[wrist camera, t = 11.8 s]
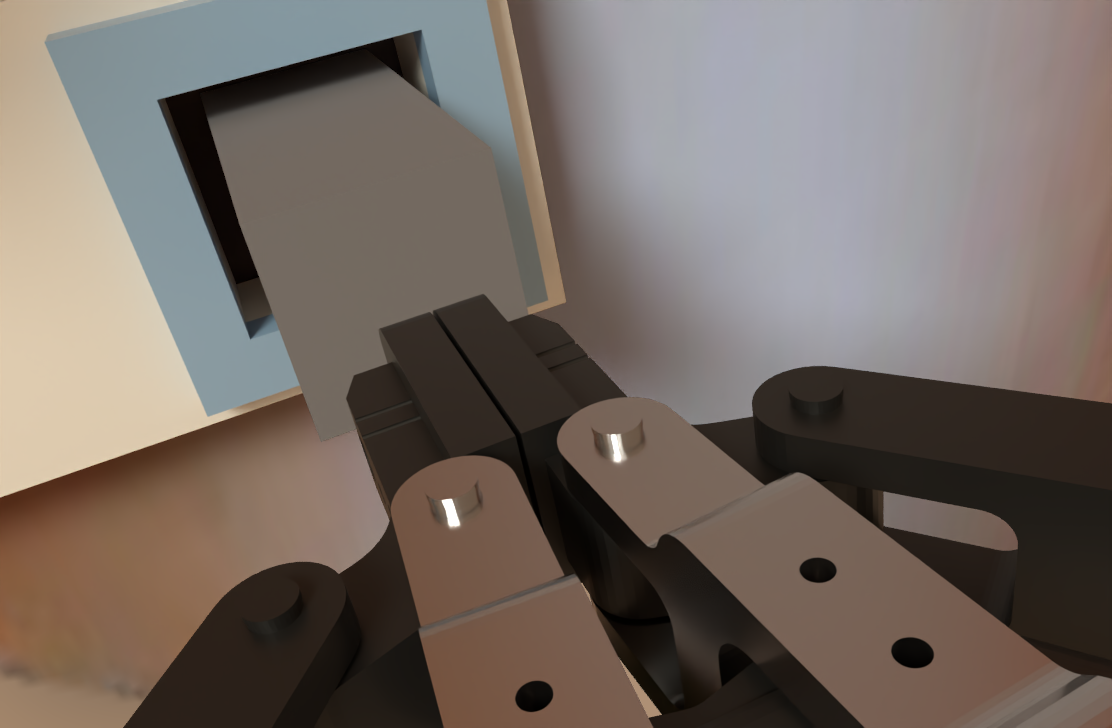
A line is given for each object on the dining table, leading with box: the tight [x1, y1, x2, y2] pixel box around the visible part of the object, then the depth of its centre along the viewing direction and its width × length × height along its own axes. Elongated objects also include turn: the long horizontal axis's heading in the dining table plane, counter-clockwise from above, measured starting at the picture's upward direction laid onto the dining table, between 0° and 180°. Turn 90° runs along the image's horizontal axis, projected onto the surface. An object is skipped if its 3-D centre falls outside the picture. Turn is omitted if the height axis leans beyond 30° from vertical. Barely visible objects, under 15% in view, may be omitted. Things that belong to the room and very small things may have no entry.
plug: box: [200, 49, 529, 442], centre depth 20 cm, size 4×4×10 cm
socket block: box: [0, 0, 566, 497], centre depth 22 cm, size 21×10×4 cm, turn 102°
